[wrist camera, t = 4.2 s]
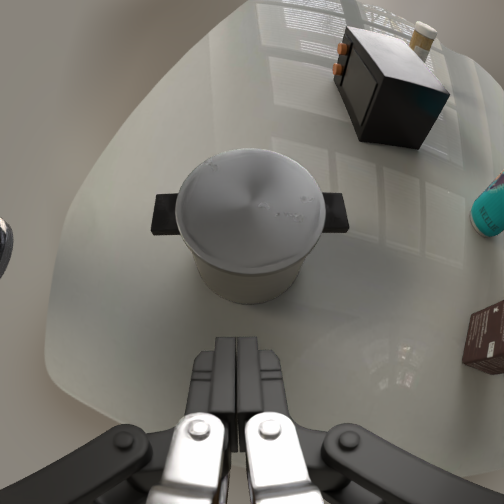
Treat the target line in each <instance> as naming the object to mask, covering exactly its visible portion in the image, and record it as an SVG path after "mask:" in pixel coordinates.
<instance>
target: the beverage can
mask: <svg viewBox="0 0 504 504" xmlns="http://www.w3.org/2000/svg"><path fill="white" fill-rule="evenodd" d="M470 219H471V222H472V225H473V227H474V228H475V230H476V231H477V232H478V233H479V234H480V235H482V236H484V237H492V236H496V235H498V234H500V233H501V232H502V231H503V230H504V170H503V171H502V172H501V173H500V174H499V176H498V177H497V178H496V179H495V180H494V181H493V182H492V183H491V184H490V185H489V187H488V188H487V189H486V190H485V191H484V192H483V193H482V194H481V195H480V196H479V197H478V198H477V199H476V200H475V202H474V204H473V206H472V209H471V212H470Z"/></svg>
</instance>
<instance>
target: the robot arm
mask: <svg viewBox="0 0 504 504" xmlns="http://www.w3.org/2000/svg"><path fill="white" fill-rule="evenodd" d="M0 244H1V230H0ZM192 371H193V372H192V375H191V381H190V387H189V393H188V398H187V404H186V410H185V415H184V417H183V418H181V419H180V420H179V421H178V423H177V424H176V426H175V427H173V428H171V429H168V430H165V431H160V432H154V433H147V434H146V433H145V432H144V431H143V430H142V429H141V428H139V427H137V426H135V425H131V424H121V425H117V426H114V427H113V428H111V429H109V430H108V431H106V432H105V433H103V434H101V435H100V436H98V437H96V438H95V439H93V440H91V441H90V442H88V443H87V444H85V445H83V446H81V447H80V448H78V449H76V450H75V451H73V452H71V453H70V454H68V455H66V456H64V457H62V458H61V459H59V460H57V461H55V462H54V463H52V464H50V465H48V466H46V467H45V468H43V469H41V470H39V471H37V472H35V473H33V474H31V475H29V476H27V477H25V478H23V479H22V480H20V481H18V482H16V483H14V484H12V485H9V486H7V487H5V488H3V489H1V490H0V504H227V498H228V488H229V478H230V469H231V452H238V431H239V446H240V452H246V470H247V479H248V486H249V493H250V501H251V504H324V502H323V499H325V500H326V501H327V502H329V503H331V504H504V494H501V493H498V492H495V491H493V490H490V489H487V488H485V487H482V486H480V485H477V484H475V483H473V482H470V481H468V480H465V479H463V478H461V477H458V476H456V475H454V474H452V473H450V472H447V471H445V470H443V469H441V468H439V467H437V466H435V465H432V464H430V463H428V462H426V461H424V460H422V459H420V458H418V457H416V456H414V455H412V454H411V453H409V452H407V451H405V450H403V449H401V448H399V447H397V446H395V445H394V444H392V443H390V442H388V441H386V440H384V439H383V438H381V437H379V436H377V435H376V434H374V433H372V432H370V431H369V430H367V429H365V428H363V427H362V426H360V425H357V424H352V423H343V424H339V425H336V426H334V427H332V428H331V429H330V430H329V431H328V432H325V431H317V430H311V429H307V428H304V427H302V426H300V425H298V424H297V423H296V422H294V421H293V419H292V418H291V416H290V414H289V411H288V405H287V400H286V394H285V388H284V382H283V377H282V371H281V365H280V360H279V358H278V356H277V355H276V354H275V353H274V352H273V350H258V341H257V337H237V354H236V337H216V339H215V349H214V351H201V352H200V353H199V355H198V356H197V357H196V358H195V360H194V364H193V370H192ZM322 498H323V499H322Z"/></svg>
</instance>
